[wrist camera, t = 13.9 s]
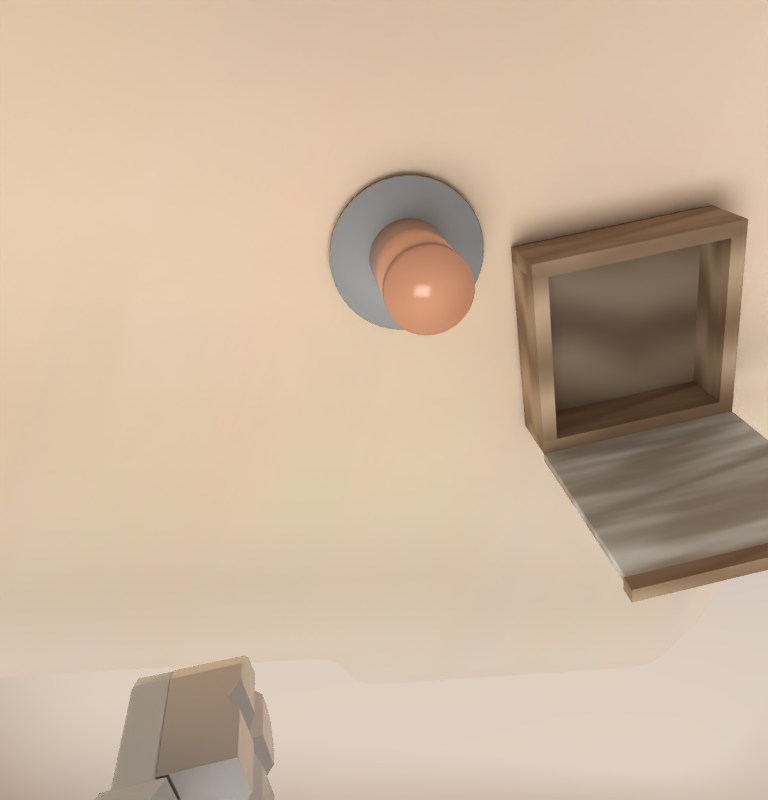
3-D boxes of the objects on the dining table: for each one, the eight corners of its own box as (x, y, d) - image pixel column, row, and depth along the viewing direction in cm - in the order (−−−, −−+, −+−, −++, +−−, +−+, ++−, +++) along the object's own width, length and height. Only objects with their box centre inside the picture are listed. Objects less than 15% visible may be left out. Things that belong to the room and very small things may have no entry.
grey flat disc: (314, 192, 43) (315, 194, 43) (472, 160, 44) (475, 162, 43) (345, 340, 48) (346, 343, 47) (487, 309, 48) (490, 312, 48)
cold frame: (508, 248, 47) (633, 357, 31) (715, 204, 47) (939, 290, 32) (523, 435, 54) (631, 602, 38) (703, 394, 54) (882, 542, 39)
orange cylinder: (362, 226, 44) (377, 257, 38) (441, 210, 44) (469, 238, 38) (375, 302, 46) (392, 343, 40) (450, 286, 47) (479, 325, 40)
